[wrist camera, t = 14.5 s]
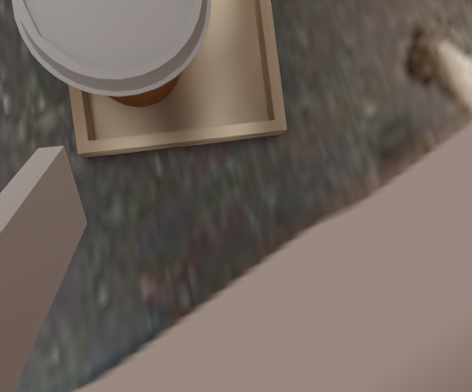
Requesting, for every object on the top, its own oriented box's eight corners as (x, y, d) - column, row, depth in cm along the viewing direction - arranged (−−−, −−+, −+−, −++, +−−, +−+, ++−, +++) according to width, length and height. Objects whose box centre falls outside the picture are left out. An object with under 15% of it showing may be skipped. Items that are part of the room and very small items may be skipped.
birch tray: (254, -52, 34) (261, -75, 31) (278, 135, 34) (287, 129, 31) (61, -39, 32) (48, -63, 29) (87, 157, 33) (77, 153, 30)
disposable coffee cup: (47, 28, 31) (-36, -75, 20) (170, -20, 32) (162, -146, 20) (104, 150, 32) (56, 122, 20) (223, 98, 33) (245, 44, 21)
